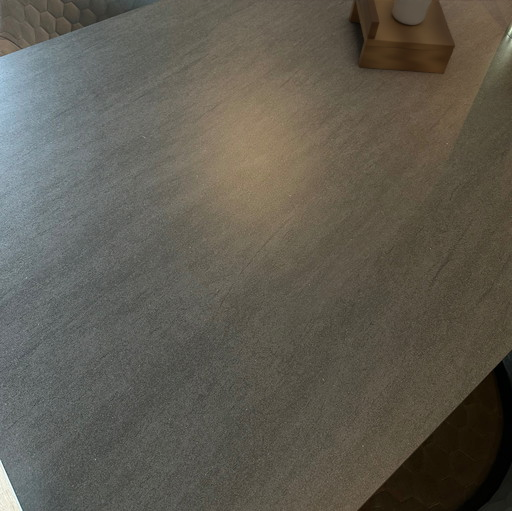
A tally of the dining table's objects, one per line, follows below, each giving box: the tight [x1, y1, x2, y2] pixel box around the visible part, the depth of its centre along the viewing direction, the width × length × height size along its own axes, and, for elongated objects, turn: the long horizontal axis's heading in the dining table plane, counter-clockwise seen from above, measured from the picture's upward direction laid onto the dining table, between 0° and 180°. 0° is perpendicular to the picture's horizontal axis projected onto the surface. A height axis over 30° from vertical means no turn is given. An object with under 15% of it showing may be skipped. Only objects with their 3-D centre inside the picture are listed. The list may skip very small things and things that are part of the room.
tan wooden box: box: [348, 0, 456, 74], centre depth 101 cm, size 14×14×8 cm
